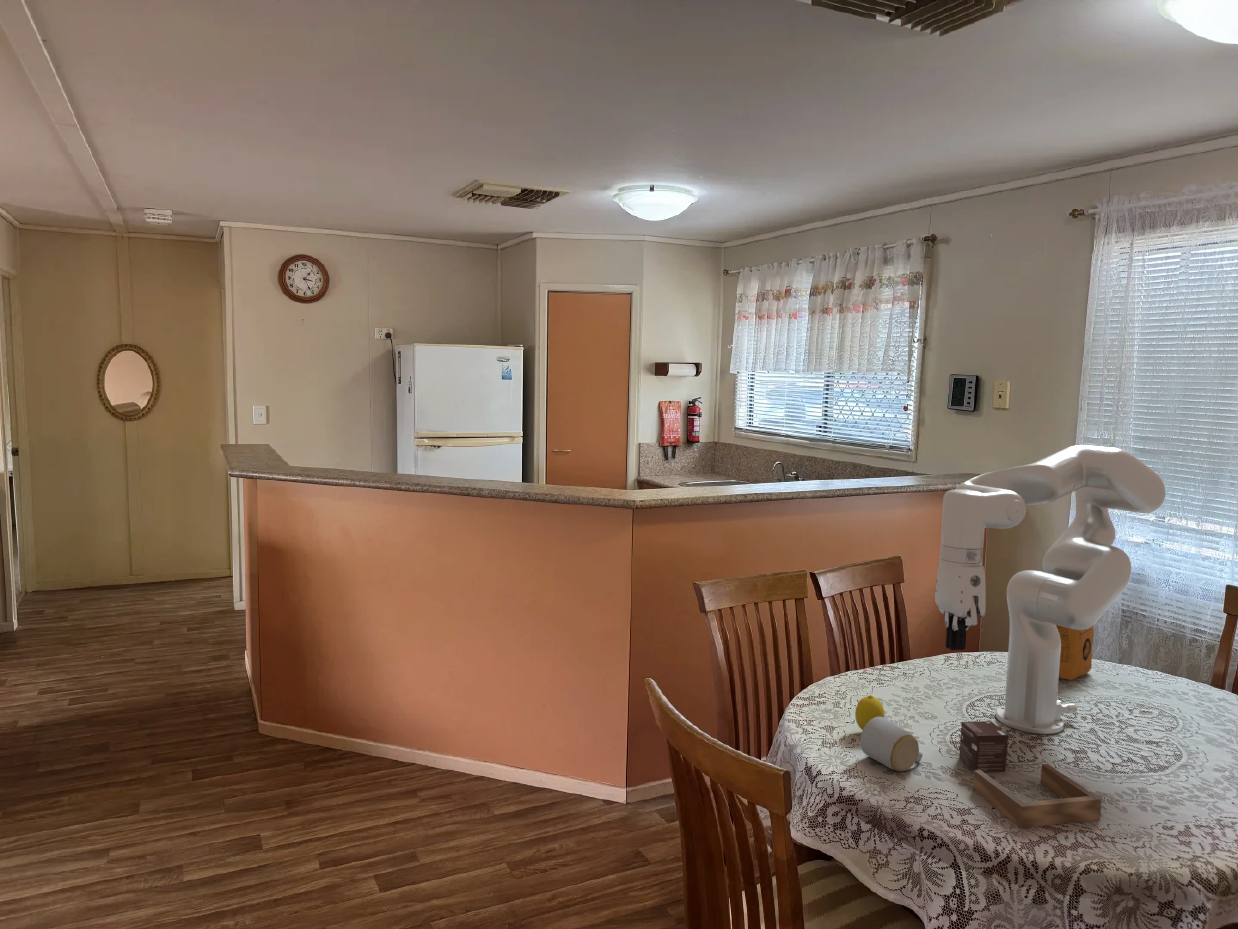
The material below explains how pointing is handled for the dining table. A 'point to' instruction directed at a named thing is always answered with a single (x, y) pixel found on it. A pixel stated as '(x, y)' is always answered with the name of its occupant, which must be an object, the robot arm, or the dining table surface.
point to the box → (983, 746)
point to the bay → (1047, 812)
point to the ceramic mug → (889, 744)
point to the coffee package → (1075, 652)
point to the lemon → (868, 710)
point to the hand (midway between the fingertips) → (955, 648)
